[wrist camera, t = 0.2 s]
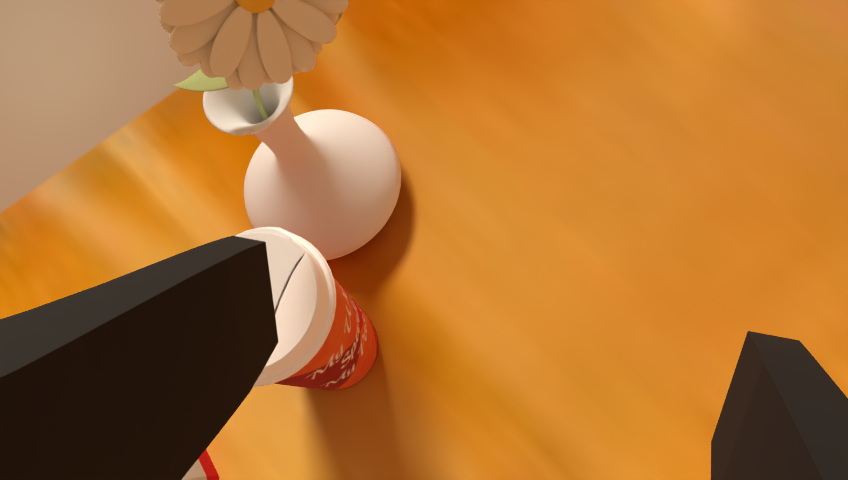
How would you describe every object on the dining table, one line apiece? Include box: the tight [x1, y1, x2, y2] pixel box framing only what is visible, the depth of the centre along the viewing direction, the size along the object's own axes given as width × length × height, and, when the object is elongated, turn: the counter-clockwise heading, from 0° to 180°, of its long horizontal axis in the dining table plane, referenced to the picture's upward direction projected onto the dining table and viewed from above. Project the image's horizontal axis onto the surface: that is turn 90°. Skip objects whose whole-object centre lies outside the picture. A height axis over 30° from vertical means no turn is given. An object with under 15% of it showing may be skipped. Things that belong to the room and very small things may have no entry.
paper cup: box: [236, 227, 378, 390], centre depth 36 cm, size 8×8×14 cm
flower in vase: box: [156, 0, 401, 260], centre depth 35 cm, size 13×11×25 cm
